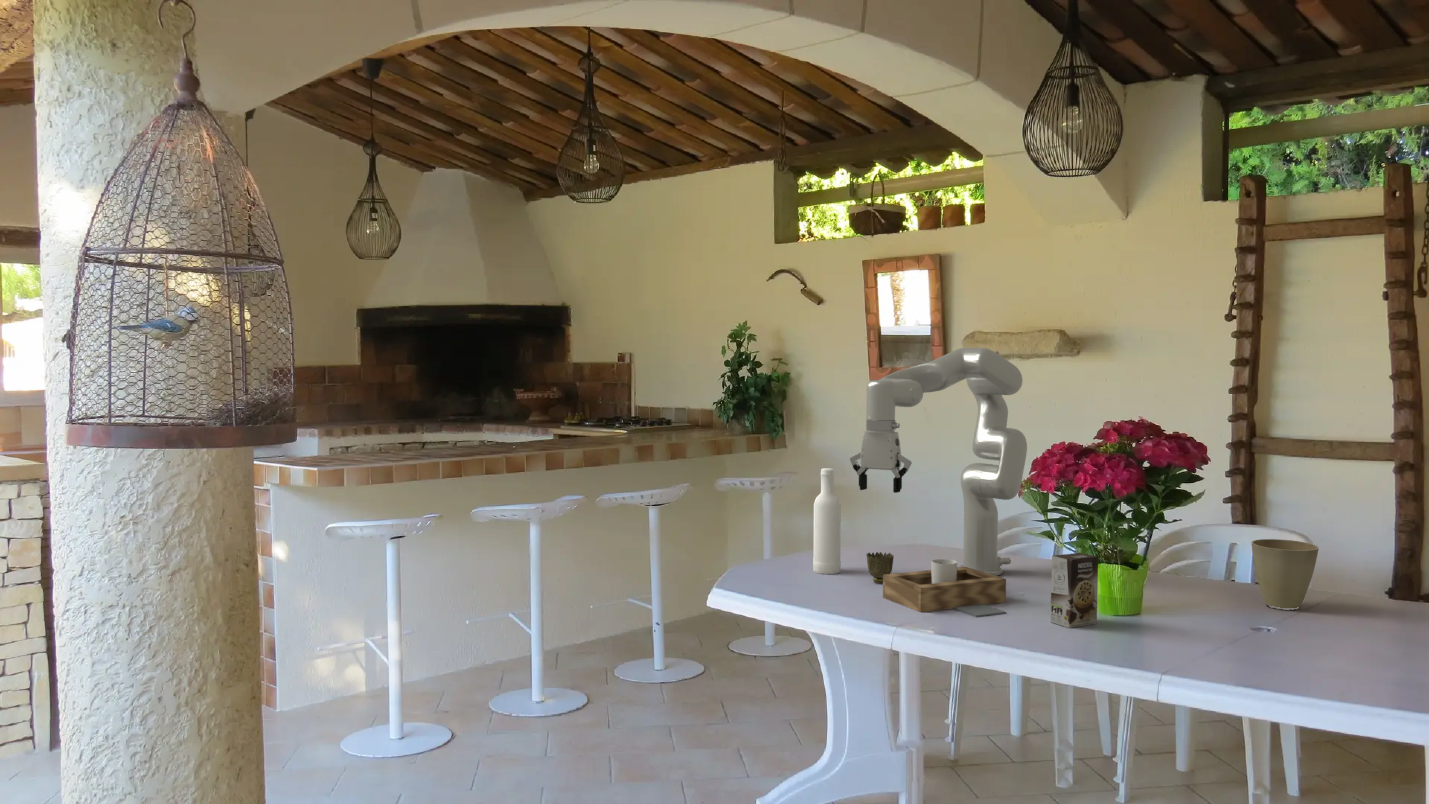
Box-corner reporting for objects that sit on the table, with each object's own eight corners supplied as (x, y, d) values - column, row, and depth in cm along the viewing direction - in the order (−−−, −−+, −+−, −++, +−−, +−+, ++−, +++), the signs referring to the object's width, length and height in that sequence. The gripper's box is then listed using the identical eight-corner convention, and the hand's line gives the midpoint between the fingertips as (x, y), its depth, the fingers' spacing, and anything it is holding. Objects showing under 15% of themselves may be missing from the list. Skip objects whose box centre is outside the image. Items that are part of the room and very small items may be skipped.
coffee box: (1069, 628, 251) (1070, 559, 250) (1049, 622, 257) (1050, 554, 256) (1098, 624, 255) (1099, 556, 255) (1077, 618, 261) (1078, 551, 260)
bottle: (821, 567, 320) (822, 466, 319) (845, 570, 316) (846, 468, 314) (808, 572, 314) (808, 469, 312) (831, 575, 309) (832, 471, 308)
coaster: (983, 605, 274) (983, 603, 274) (1006, 613, 265) (1006, 611, 265) (953, 608, 270) (953, 607, 270) (976, 617, 262) (976, 615, 262)
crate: (964, 588, 293) (965, 566, 292) (1005, 602, 277) (1006, 578, 277) (882, 597, 282) (883, 574, 282) (920, 612, 267) (920, 588, 266)
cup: (895, 585, 296) (895, 556, 296) (868, 585, 296) (868, 556, 296) (891, 580, 304) (891, 551, 303) (865, 579, 304) (865, 551, 303)
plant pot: (1241, 607, 271) (1243, 544, 271) (1260, 597, 282) (1261, 536, 281) (1307, 617, 261) (1309, 552, 260) (1324, 607, 272) (1325, 544, 271)
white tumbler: (927, 601, 278) (927, 562, 278) (934, 595, 284) (935, 558, 284) (953, 604, 275) (953, 565, 275) (959, 598, 281) (960, 560, 281)
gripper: (916, 427, 286) (916, 491, 287) (857, 424, 295) (856, 487, 296) (905, 428, 280) (904, 494, 280) (844, 426, 289) (844, 490, 290)
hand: (879, 490), depth 288 cm, fingers open, 9 cm apart
